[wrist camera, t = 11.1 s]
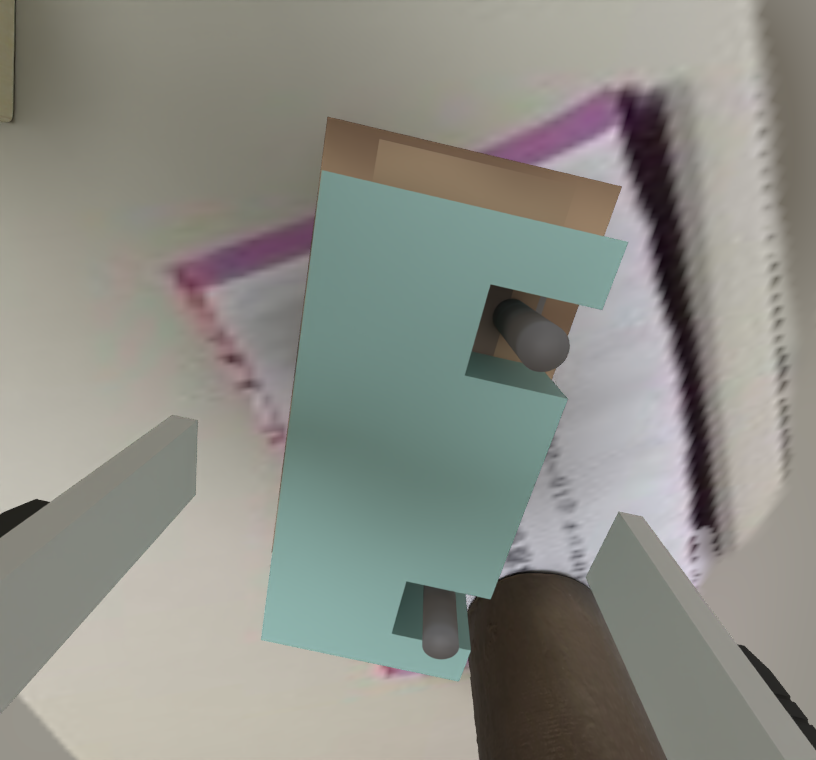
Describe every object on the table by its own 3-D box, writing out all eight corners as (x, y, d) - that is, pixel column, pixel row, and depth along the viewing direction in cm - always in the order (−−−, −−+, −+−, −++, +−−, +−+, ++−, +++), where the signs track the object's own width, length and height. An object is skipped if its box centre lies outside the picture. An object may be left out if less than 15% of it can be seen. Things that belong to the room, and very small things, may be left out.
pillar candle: (439, 604, 28) (449, 988, 14) (570, 548, 25) (744, 937, 11) (506, 687, 30) (573, 1083, 16) (630, 643, 28) (834, 1056, 14)
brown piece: (335, 126, 18) (234, 5, 9) (607, 190, 19) (787, 139, 9) (280, 535, 26) (196, 699, 17) (471, 576, 27) (492, 760, 17)
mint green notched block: (346, 185, 15) (321, 170, 11) (584, 241, 15) (628, 242, 11) (287, 576, 21) (261, 639, 18) (454, 612, 21) (459, 681, 18)
